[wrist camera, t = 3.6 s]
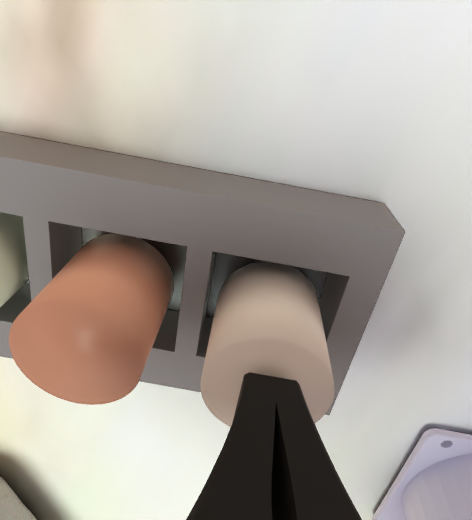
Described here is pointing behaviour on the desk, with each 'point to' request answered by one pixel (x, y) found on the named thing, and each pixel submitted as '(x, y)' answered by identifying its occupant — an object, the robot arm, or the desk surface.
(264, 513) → the robot arm
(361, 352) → the desk surface
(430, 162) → the desk surface
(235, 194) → the panel
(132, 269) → the button terracotta
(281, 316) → the button cream
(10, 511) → the ceramic mug
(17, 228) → the button sage
